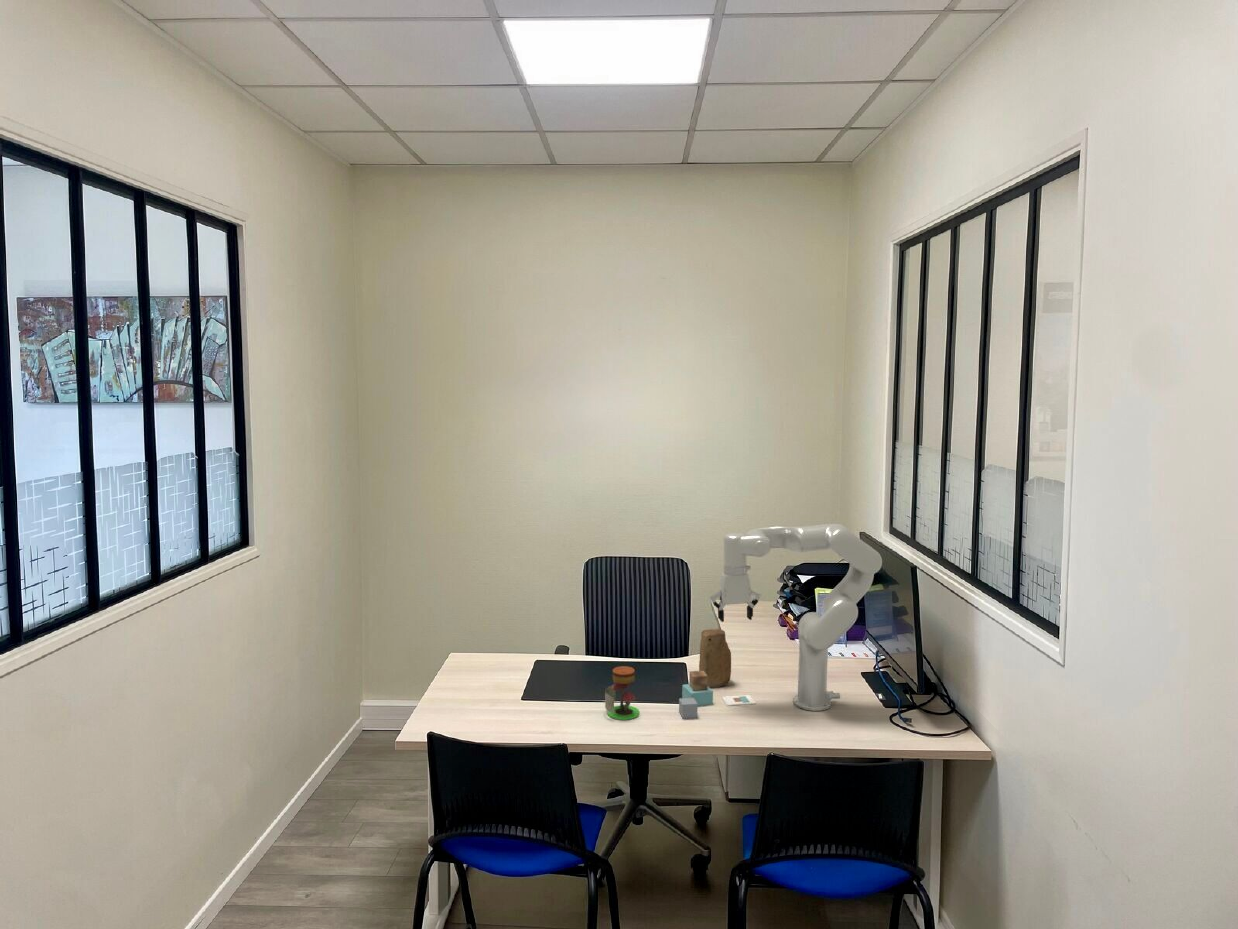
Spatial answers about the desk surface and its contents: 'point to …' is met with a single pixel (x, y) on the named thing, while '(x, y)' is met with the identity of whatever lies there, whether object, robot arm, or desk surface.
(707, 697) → the teal base block
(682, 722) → the desk surface
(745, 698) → the card
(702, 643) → the brown piece
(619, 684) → the green-based stack
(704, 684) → the walnut cube
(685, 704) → the slate grey cube
